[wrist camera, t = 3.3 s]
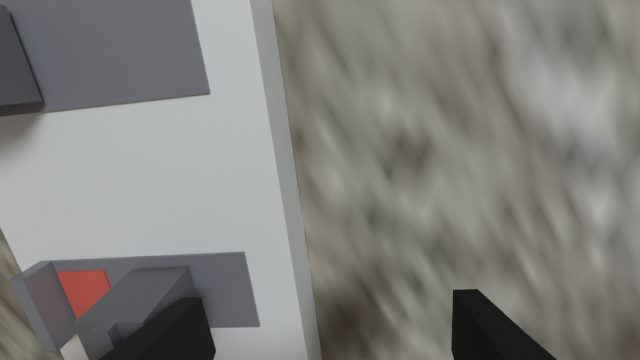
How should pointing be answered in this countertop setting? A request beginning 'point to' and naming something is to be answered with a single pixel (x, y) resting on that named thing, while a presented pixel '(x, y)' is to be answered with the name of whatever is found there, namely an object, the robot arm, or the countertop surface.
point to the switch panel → (156, 168)
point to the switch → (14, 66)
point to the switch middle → (131, 307)
